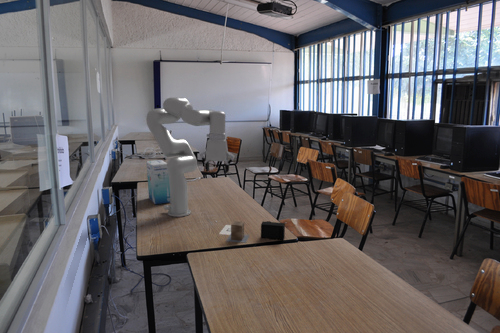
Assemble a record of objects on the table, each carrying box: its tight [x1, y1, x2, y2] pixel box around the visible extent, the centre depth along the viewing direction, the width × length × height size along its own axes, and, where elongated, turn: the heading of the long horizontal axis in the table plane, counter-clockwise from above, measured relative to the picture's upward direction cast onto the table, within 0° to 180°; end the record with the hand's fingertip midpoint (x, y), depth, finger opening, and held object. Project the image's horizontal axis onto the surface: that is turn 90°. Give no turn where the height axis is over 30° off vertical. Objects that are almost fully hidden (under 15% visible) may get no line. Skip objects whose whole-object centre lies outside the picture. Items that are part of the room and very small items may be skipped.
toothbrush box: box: [145, 159, 170, 206], centre depth 231 cm, size 18×10×24 cm, turn 27°
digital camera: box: [260, 220, 286, 242], centre depth 172 cm, size 10×5×7 cm, turn 77°
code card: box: [218, 224, 231, 236], centre depth 182 cm, size 8×13×1 cm, turn 169°
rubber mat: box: [225, 234, 250, 244], centre depth 171 cm, size 9×9×1 cm
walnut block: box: [230, 220, 245, 240], centre depth 170 cm, size 5×5×7 cm
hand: (217, 171), depth 185 cm, fingers open, 9 cm apart
